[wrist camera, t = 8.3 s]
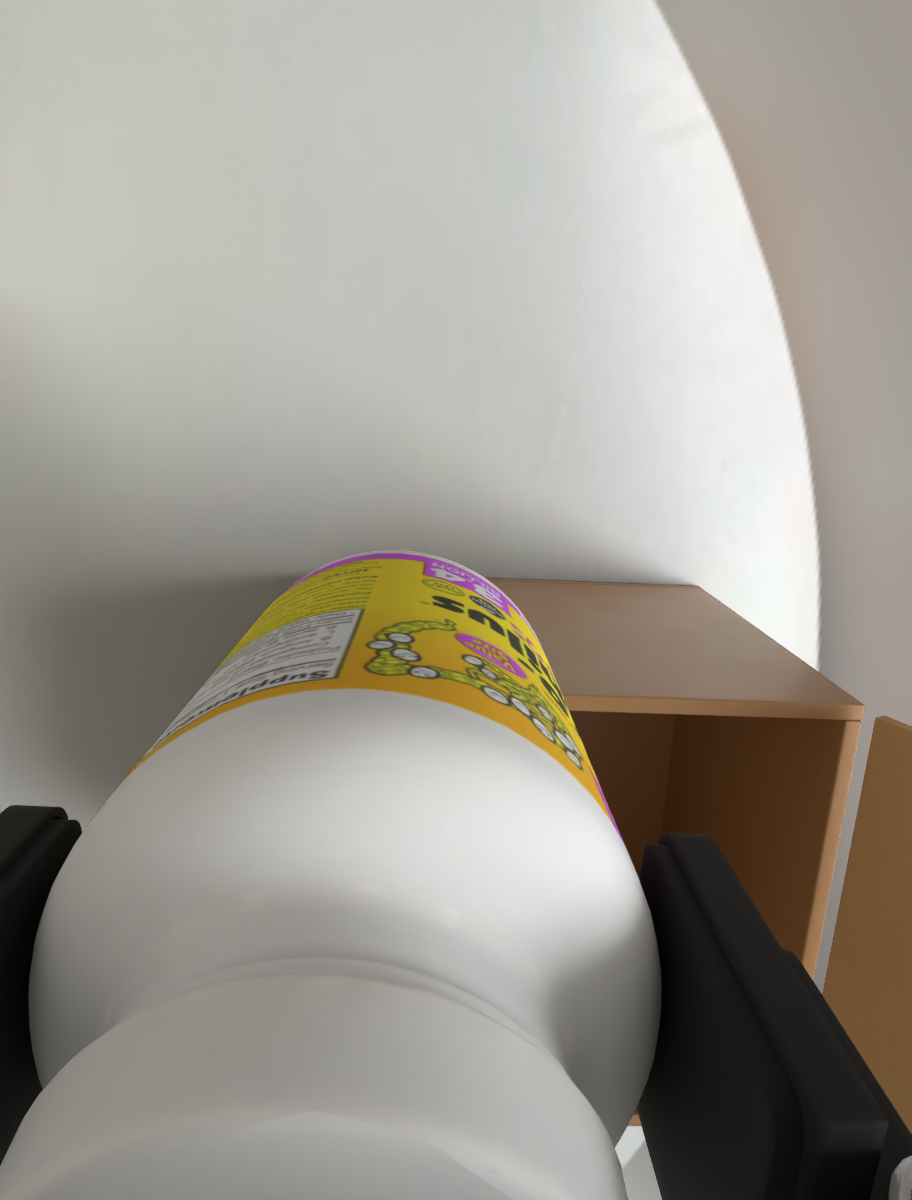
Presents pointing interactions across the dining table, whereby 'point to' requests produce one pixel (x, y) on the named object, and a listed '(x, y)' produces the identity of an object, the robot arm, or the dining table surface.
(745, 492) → the dining table surface
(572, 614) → the carton
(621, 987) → the supplement bottle
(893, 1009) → the flap
